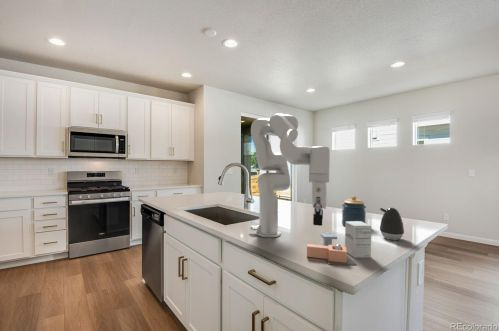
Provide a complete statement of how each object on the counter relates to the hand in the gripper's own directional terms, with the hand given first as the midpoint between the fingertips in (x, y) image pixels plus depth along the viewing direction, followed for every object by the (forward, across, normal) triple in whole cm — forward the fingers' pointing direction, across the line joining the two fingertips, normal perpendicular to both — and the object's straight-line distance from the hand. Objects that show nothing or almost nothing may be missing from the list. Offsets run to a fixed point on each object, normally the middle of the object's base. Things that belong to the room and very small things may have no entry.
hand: (318, 222), depth 96 cm
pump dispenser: (+14, +36, -34) cm, 51 cm away
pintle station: (+14, 0, -8) cm, 16 cm away
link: (+13, 0, -3) cm, 14 cm away
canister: (+14, +57, -18) cm, 62 cm away
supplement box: (+14, +8, -15) cm, 22 cm away
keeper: (+14, +11, -4) cm, 18 cm away
